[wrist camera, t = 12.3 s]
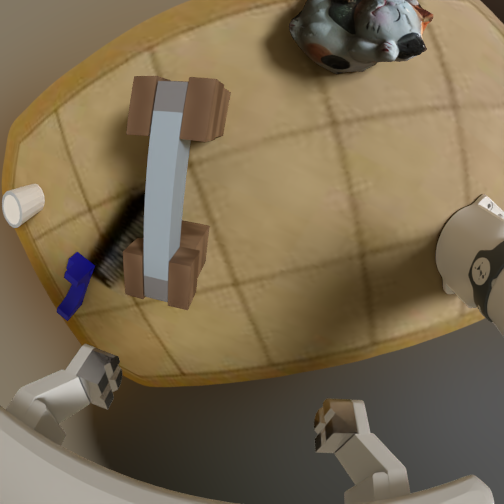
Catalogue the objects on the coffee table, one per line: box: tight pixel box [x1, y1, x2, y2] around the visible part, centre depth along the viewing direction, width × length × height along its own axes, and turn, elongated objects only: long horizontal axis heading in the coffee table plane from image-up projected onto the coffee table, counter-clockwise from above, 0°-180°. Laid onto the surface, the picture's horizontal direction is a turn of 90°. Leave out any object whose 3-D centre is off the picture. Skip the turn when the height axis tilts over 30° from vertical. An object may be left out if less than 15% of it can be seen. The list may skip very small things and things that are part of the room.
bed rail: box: [144, 81, 191, 302], centre depth 28 cm, size 3×24×4 cm, turn 170°
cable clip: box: [57, 252, 95, 321], centre depth 45 cm, size 12×4×6 cm, turn 144°
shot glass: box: [2, 184, 45, 228], centre depth 37 cm, size 7×7×7 cm
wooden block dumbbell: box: [123, 76, 231, 310], centre depth 32 cm, size 8×25×12 cm, turn 170°
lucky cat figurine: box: [289, 0, 433, 74], centre depth 21 cm, size 15×12×14 cm
